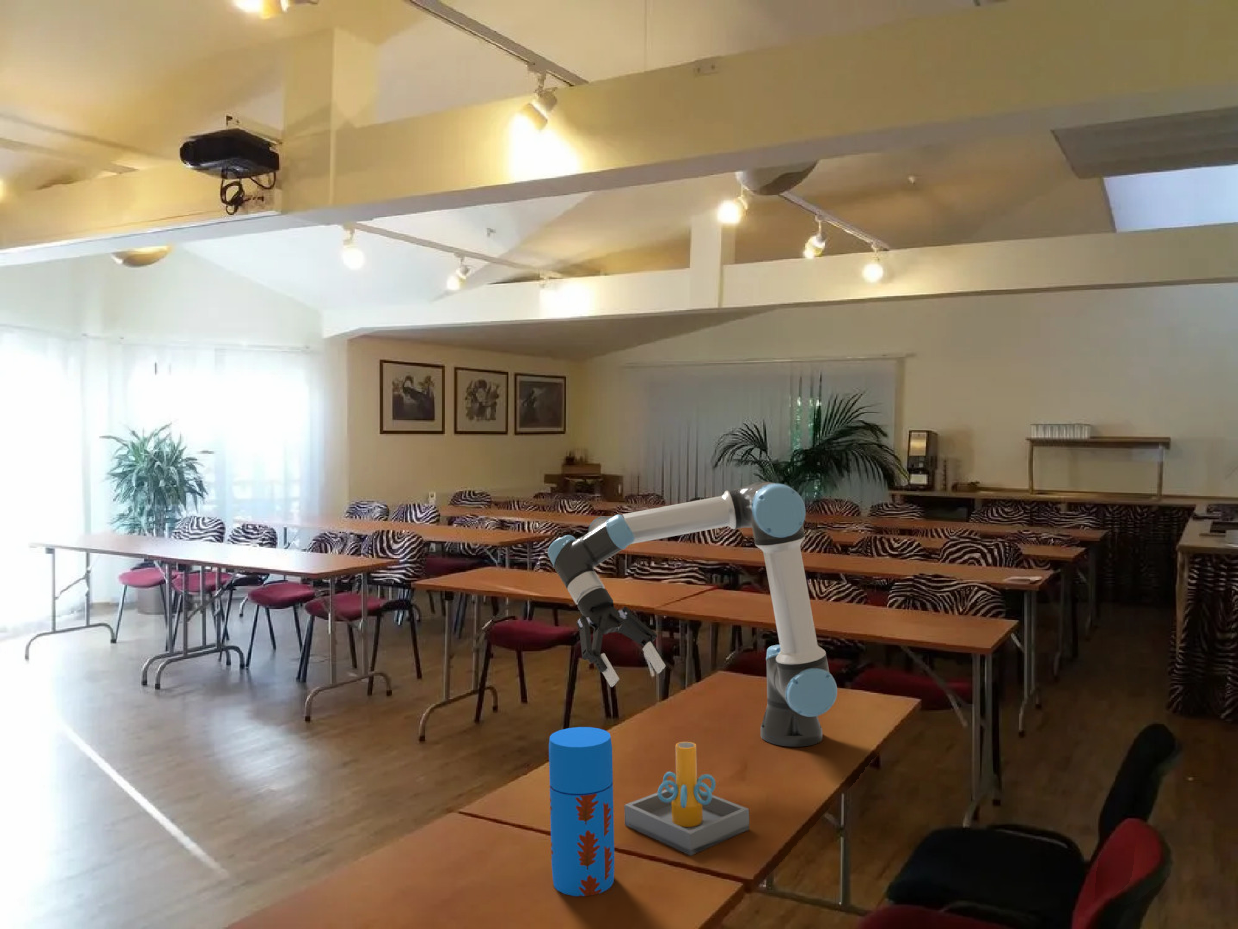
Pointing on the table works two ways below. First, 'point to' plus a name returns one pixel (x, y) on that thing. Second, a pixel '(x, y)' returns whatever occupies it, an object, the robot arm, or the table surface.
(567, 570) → the robot arm
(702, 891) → the table surface
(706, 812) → the tray
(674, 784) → the cylinder
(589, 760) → the thermos
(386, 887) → the table surface
